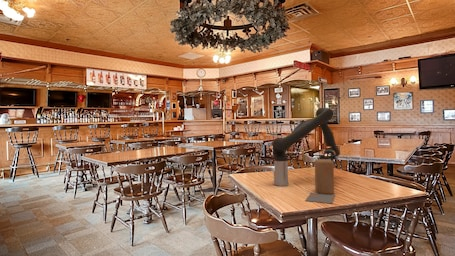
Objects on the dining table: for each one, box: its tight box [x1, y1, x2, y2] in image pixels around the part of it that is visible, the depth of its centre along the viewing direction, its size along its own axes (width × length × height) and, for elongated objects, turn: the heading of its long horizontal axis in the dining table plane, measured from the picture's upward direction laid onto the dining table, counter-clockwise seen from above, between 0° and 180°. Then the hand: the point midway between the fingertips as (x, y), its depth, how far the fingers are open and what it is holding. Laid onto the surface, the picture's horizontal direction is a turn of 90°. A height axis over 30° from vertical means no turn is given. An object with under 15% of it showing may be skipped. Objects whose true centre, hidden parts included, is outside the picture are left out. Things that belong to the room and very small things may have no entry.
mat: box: [304, 192, 336, 205], centre depth 154 cm, size 14×17×1 cm
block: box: [314, 158, 335, 195], centre depth 167 cm, size 10×10×20 cm
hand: (326, 158), depth 177 cm, fingers closed
